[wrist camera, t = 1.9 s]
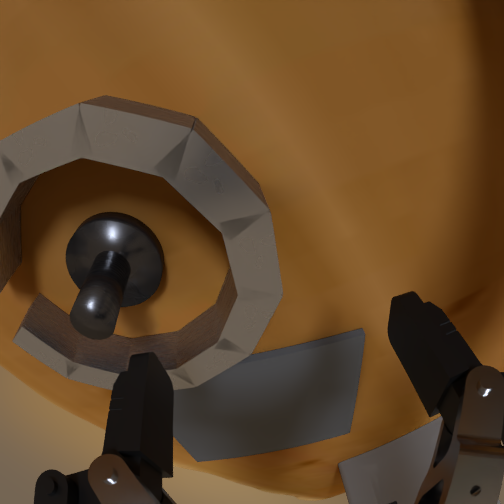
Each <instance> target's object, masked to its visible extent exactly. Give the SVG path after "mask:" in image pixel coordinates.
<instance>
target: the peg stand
mask: <svg viewBox="0 0 504 504" xmlns="http://www.w3.org/2000/svg"><path fill="white" fill-rule="evenodd" d="M66 264H67V268H68V271H69V274H70V276H71V278H72V280H73V281H74V283H75V284H76V285H77V287H78V288H79V289H80V292H79V294H78V296H77V298H76V301H75V303H74V305H73V308H72V310H71V312H70V321H71V324H72V326H73V327H74V328H75V329H76V331H78V332H79V333H80V334H82V335H83V336H85V337H87V338H90V339H94V340H103V339H107V338H109V337H110V336H111V335H112V334H113V332H114V329H115V325H116V322H117V318H118V314H119V311H120V307H128V306H133V305H137V304H140V303H142V302H144V301H146V300H147V299H148V298H150V297H151V296H152V295H153V294H154V293H155V291H156V290H157V288H158V286H159V284H160V281H161V276H162V271H163V265H164V256H163V250H162V247H161V244H160V242H159V240H158V239H157V237H156V235H155V234H154V233H153V232H152V230H151V229H150V228H149V227H148V226H146V225H145V224H144V223H143V222H141V221H140V220H138V219H136V218H134V217H132V216H130V215H126V214H123V213H118V212H104V213H99V214H96V215H93V216H91V217H90V218H88V219H86V220H85V221H84V222H83V223H82V224H81V225H80V226H79V227H78V229H77V230H76V232H75V233H74V235H73V236H72V238H71V239H70V241H69V243H68V246H67V250H66Z"/></svg>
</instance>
